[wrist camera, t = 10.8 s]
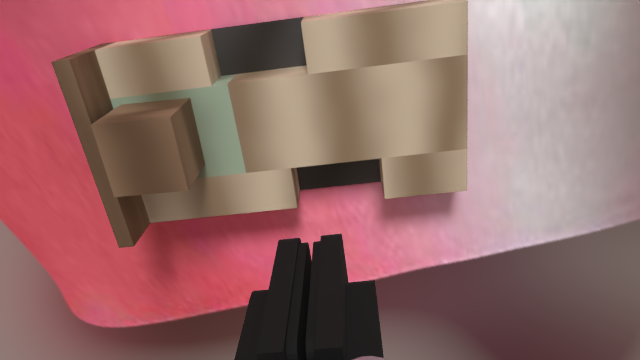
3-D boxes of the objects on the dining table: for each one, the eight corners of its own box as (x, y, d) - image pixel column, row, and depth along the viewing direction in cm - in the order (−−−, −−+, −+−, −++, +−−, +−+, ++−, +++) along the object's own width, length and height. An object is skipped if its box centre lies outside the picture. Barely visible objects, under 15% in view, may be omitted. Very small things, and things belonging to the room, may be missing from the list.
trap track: (455, -4, 29) (483, 5, 24) (456, 172, 34) (479, 212, 29) (101, 44, 31) (51, 62, 26) (151, 204, 36) (119, 247, 31)
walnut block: (190, 97, 29) (170, 117, 26) (205, 163, 31) (188, 190, 28) (120, 104, 30) (90, 124, 26) (139, 169, 31) (114, 197, 28)
